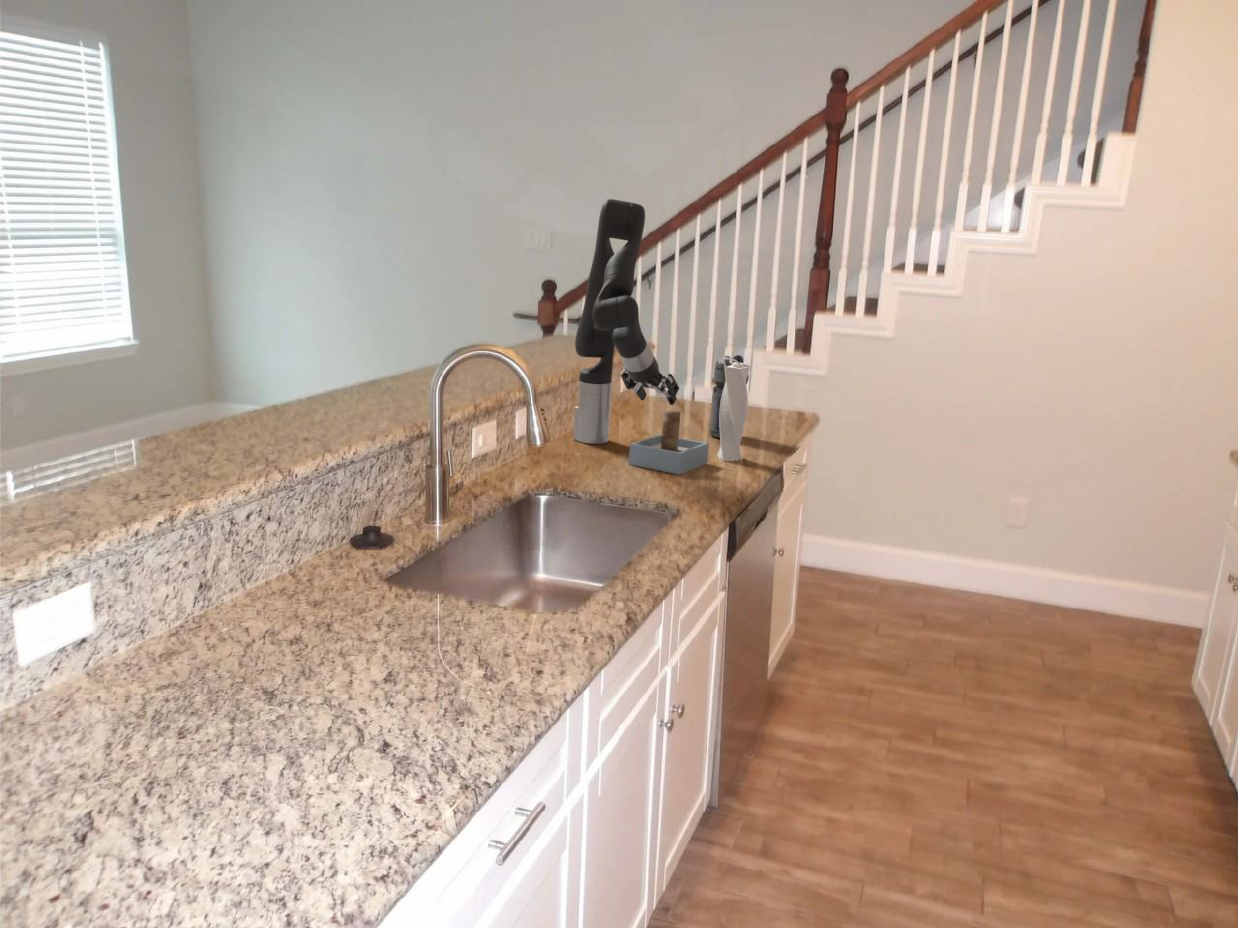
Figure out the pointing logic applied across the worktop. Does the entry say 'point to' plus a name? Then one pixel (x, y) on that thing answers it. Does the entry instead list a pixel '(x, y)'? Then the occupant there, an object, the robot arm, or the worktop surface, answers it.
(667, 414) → the peg
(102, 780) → the worktop surface
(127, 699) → the worktop surface
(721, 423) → the skyscraper
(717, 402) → the dark tall piece
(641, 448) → the box
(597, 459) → the worktop surface
